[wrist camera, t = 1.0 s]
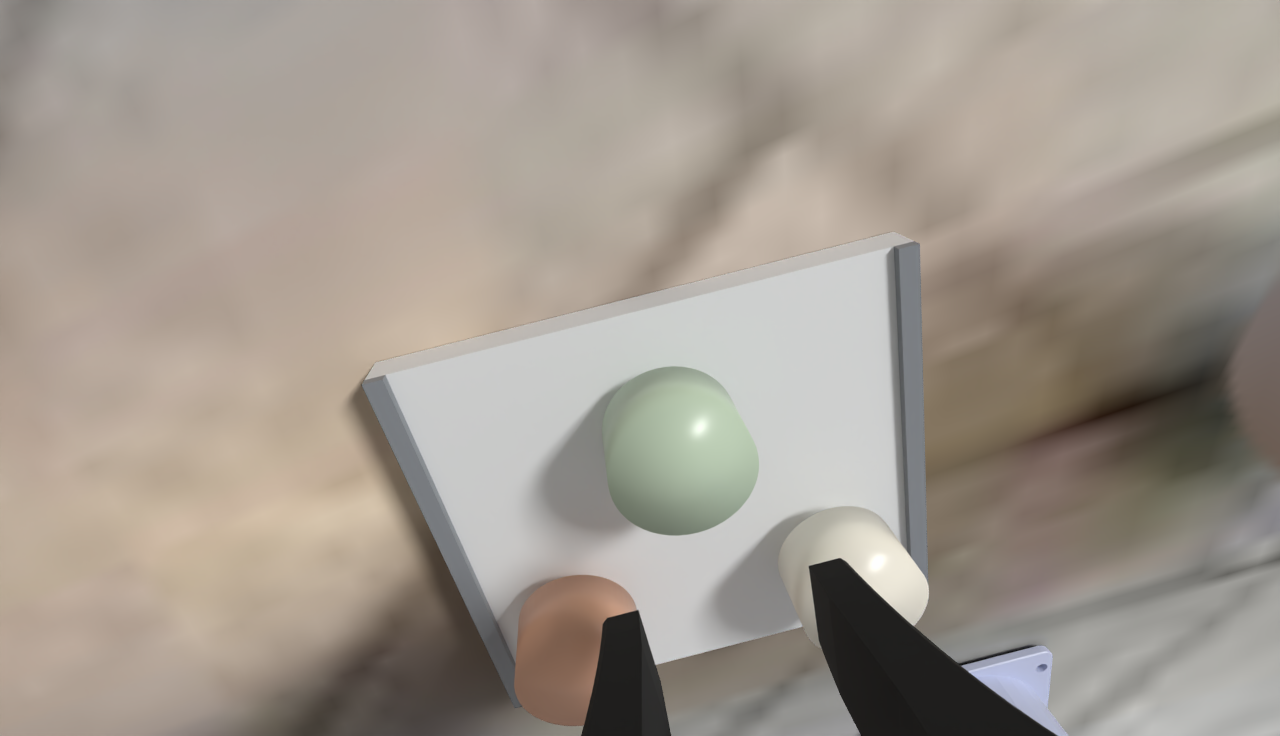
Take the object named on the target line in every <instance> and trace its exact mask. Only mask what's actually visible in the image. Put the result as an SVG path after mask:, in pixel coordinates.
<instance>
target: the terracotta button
mask: <svg viewBox="0 0 1280 736" xmlns="http://www.w3.org/2000/svg"><path fill="white" fill-rule="evenodd" d="M636 610H637V609H636V605H635V602H634V600H633V598H632V597H631V595H630V594H629V593H628V592H627V591H626V590H625V589H624V588H623V587H622V586H620V585H619V584H617V583H615V582H613V581H611V580H609V579H606V578H603V577H599V576H593V575H572V576H566V577H562V578H559V579H555V580H553V581H551V582H548V583H546V584H545V585H543V586H541V587H540V588H538V589H537V590H536V591H534V592H533V593H532V594H531V595H530V596H529V598H528V599H527V600H526V601H525V603H524V605H523V606H522V609H521V611H520V615H519V623H518V637H517V651H516V665H515V679H514V689H515V694H516V696H517V699H518V700H519V702H520V704H521V705H522V706H523V707H524V709H526V710H527V711H528V712H529V713H530V714H532V715H533V716H535V717H537V718H539V719H541V720H543V721H546V722H549V723H553V724H557V725H564V726H582V725H584V723H585V719H586V715H587V711H588V706H589V702H590V698H591V694H592V690H593V685H594V680H595V675H596V670H597V664H598V658H599V652H600V645H601V637H602V626H603V623H604V621H605V620H606V619H607V618H609V617H613V616H617V615H620V614H624V613H628V612H632V611H636Z"/></svg>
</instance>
